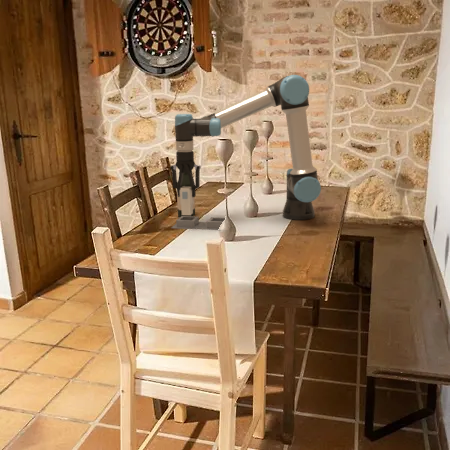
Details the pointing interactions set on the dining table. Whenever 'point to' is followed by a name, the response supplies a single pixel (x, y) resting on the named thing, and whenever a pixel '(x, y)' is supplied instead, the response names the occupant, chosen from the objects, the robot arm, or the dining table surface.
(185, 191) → the cream box
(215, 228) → the grey holder tray
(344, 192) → the dining table surface
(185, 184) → the wine bottle
